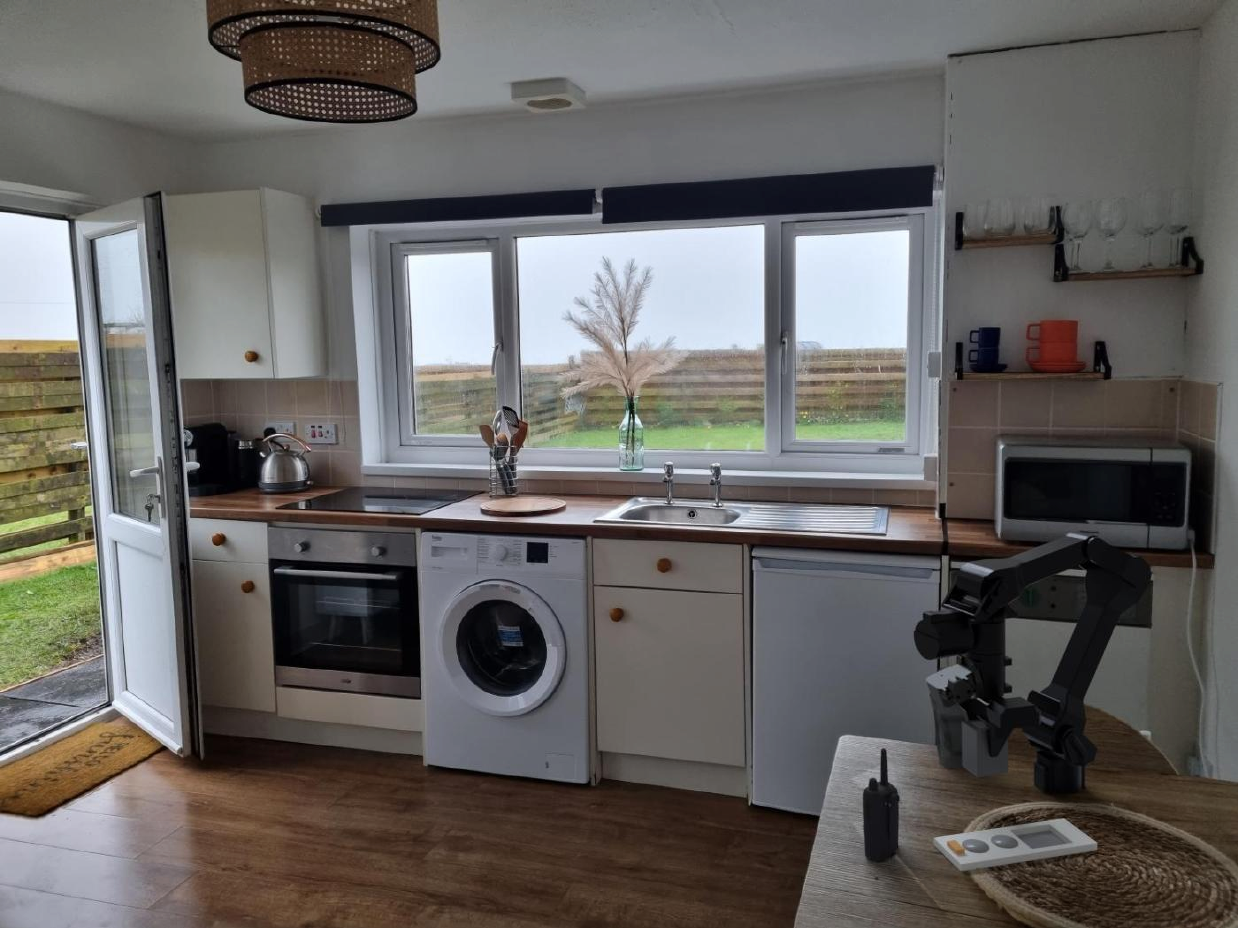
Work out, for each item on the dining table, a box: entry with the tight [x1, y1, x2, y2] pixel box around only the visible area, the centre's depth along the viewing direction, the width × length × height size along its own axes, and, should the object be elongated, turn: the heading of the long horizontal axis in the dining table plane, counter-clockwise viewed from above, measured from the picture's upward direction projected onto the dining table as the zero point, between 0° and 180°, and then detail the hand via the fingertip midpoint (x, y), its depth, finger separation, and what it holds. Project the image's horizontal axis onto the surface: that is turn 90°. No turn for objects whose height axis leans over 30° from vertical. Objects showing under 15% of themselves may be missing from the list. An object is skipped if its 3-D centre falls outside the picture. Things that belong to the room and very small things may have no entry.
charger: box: [962, 719, 1009, 778], centre depth 139 cm, size 5×4×7 cm
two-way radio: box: [862, 747, 901, 862], centre depth 128 cm, size 6×4×15 cm
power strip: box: [933, 817, 1098, 872], centre depth 127 cm, size 20×7×3 cm, turn 100°
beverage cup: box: [929, 657, 966, 769], centre depth 155 cm, size 7×7×20 cm
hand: (985, 750), depth 139 cm, fingers closed on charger, 4 cm apart
